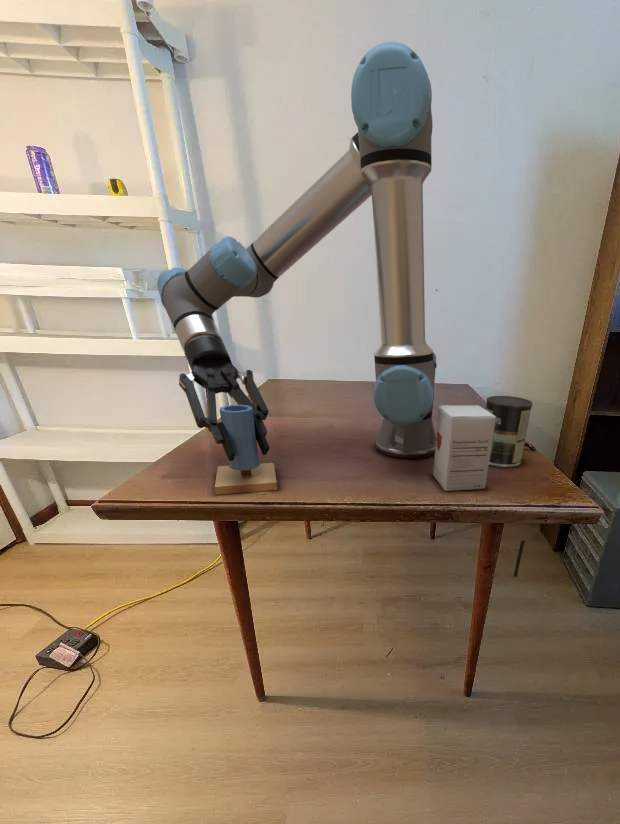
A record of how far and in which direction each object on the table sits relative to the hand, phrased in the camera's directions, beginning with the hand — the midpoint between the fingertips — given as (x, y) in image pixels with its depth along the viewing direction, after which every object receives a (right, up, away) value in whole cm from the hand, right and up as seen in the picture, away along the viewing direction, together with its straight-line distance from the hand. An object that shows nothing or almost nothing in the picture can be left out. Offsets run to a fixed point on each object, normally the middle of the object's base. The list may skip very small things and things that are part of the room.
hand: (249, 454), depth 79 cm
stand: (-3, -4, +6) cm, 8 cm away
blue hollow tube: (-3, -1, +4) cm, 5 cm away
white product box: (+40, -4, +10) cm, 42 cm away
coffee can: (+52, +3, +24) cm, 57 cm away
